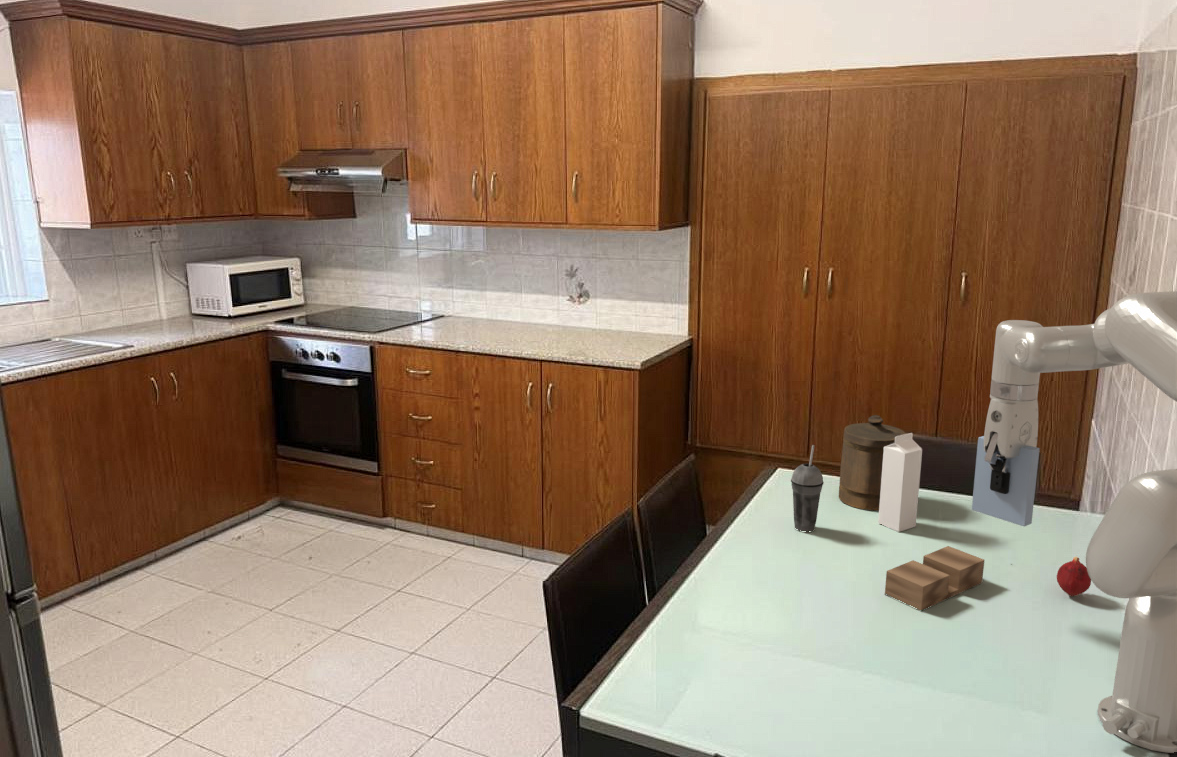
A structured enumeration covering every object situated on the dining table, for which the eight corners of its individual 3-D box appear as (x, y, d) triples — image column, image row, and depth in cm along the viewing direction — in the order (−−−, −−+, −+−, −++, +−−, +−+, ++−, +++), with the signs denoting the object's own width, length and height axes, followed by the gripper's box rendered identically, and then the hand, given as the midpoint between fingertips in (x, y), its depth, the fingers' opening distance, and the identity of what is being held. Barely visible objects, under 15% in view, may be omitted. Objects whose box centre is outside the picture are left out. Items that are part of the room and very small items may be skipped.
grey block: (1024, 526, 151) (1032, 450, 148) (971, 509, 159) (978, 437, 156) (1031, 523, 152) (1039, 448, 149) (979, 507, 160) (985, 435, 157)
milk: (877, 523, 200) (883, 433, 195) (895, 518, 203) (901, 429, 198) (899, 532, 195) (905, 440, 190) (916, 526, 198) (923, 435, 193)
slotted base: (920, 611, 160) (923, 586, 159) (884, 594, 166) (886, 570, 165) (982, 582, 171) (984, 559, 170) (945, 568, 177) (948, 545, 176)
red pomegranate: (1093, 604, 162) (1098, 565, 160) (1060, 601, 163) (1065, 562, 161) (1082, 590, 168) (1087, 552, 166) (1050, 587, 169) (1055, 550, 167)
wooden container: (913, 506, 211) (920, 420, 206) (864, 514, 206) (870, 427, 201) (873, 486, 224) (879, 405, 219) (826, 494, 219) (831, 411, 214)
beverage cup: (781, 525, 200) (785, 443, 195) (807, 520, 202) (811, 439, 198) (802, 537, 193) (806, 452, 188) (827, 531, 196) (832, 448, 191)
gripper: (1009, 401, 143) (998, 505, 147) (1059, 388, 152) (1048, 487, 156) (967, 393, 149) (958, 493, 153) (1018, 381, 158) (1008, 476, 162)
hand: (1003, 489), depth 154 cm, fingers closed on grey block, 2 cm apart
